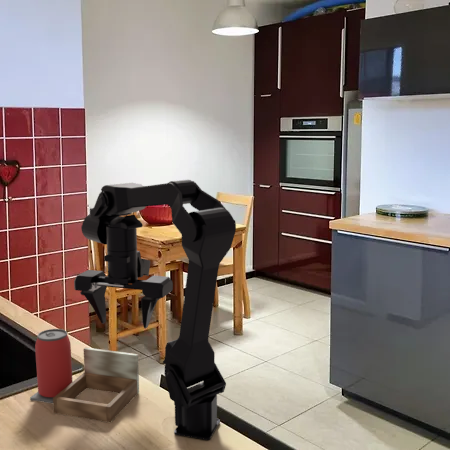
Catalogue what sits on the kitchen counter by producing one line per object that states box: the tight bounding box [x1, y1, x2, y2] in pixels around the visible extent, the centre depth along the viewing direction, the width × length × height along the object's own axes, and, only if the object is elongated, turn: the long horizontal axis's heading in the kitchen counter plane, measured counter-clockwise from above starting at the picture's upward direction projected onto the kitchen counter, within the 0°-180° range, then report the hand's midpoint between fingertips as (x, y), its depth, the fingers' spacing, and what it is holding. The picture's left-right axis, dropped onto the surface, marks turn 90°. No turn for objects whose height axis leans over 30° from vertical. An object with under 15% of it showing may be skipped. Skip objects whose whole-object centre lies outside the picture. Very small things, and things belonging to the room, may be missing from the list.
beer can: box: [34, 328, 74, 398], centre depth 112 cm, size 7×7×12 cm
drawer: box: [52, 347, 140, 424], centre depth 110 cm, size 12×12×8 cm
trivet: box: [29, 391, 53, 404], centre depth 114 cm, size 6×7×1 cm
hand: (124, 325), depth 114 cm, fingers open, 9 cm apart
